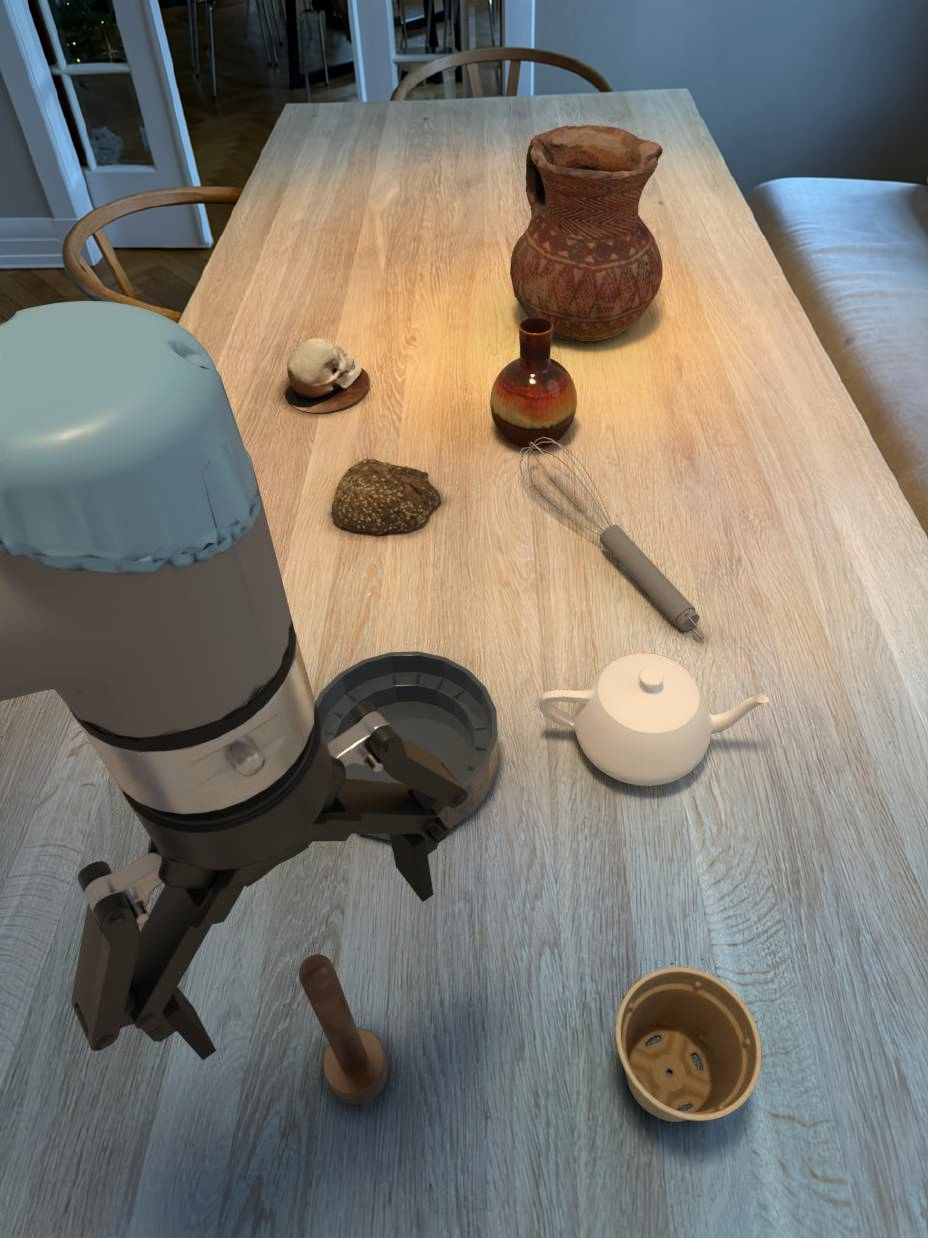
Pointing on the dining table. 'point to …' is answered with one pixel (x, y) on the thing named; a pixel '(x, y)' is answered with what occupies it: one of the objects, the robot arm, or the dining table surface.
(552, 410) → the vase
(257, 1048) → the dining table surface
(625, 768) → the teapot
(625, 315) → the jug
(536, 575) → the dining table surface
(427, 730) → the bowl
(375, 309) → the dining table surface
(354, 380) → the skull
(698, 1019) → the flower pot
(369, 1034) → the wooden pestle
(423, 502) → the bread roll
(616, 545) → the kitchen whisk
